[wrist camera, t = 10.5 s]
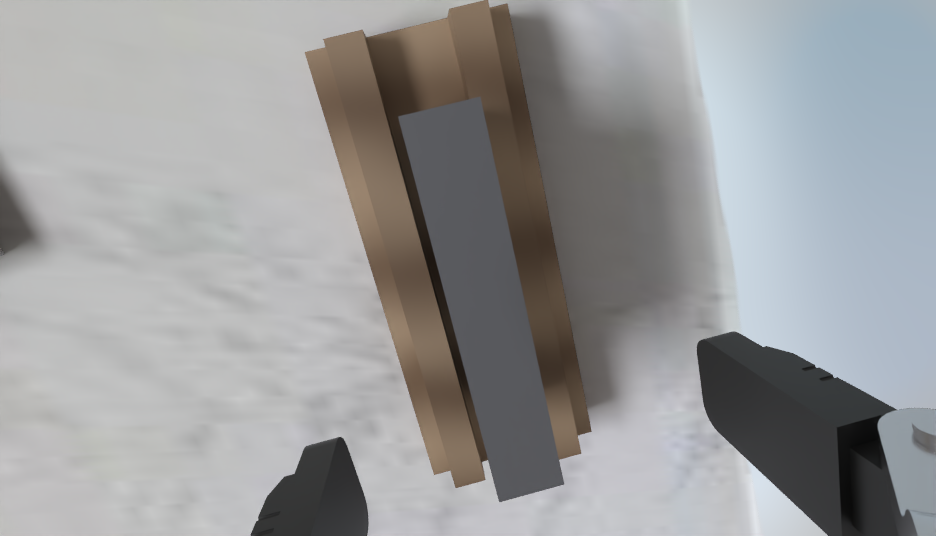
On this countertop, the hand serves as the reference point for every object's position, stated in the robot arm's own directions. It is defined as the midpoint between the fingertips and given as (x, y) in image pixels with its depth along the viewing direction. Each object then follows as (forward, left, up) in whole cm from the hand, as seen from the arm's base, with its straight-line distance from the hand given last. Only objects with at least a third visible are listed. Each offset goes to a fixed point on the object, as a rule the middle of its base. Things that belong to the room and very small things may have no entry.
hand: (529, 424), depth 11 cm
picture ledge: (0, 0, -16) cm, 16 cm away
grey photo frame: (0, 0, -14) cm, 14 cm away
